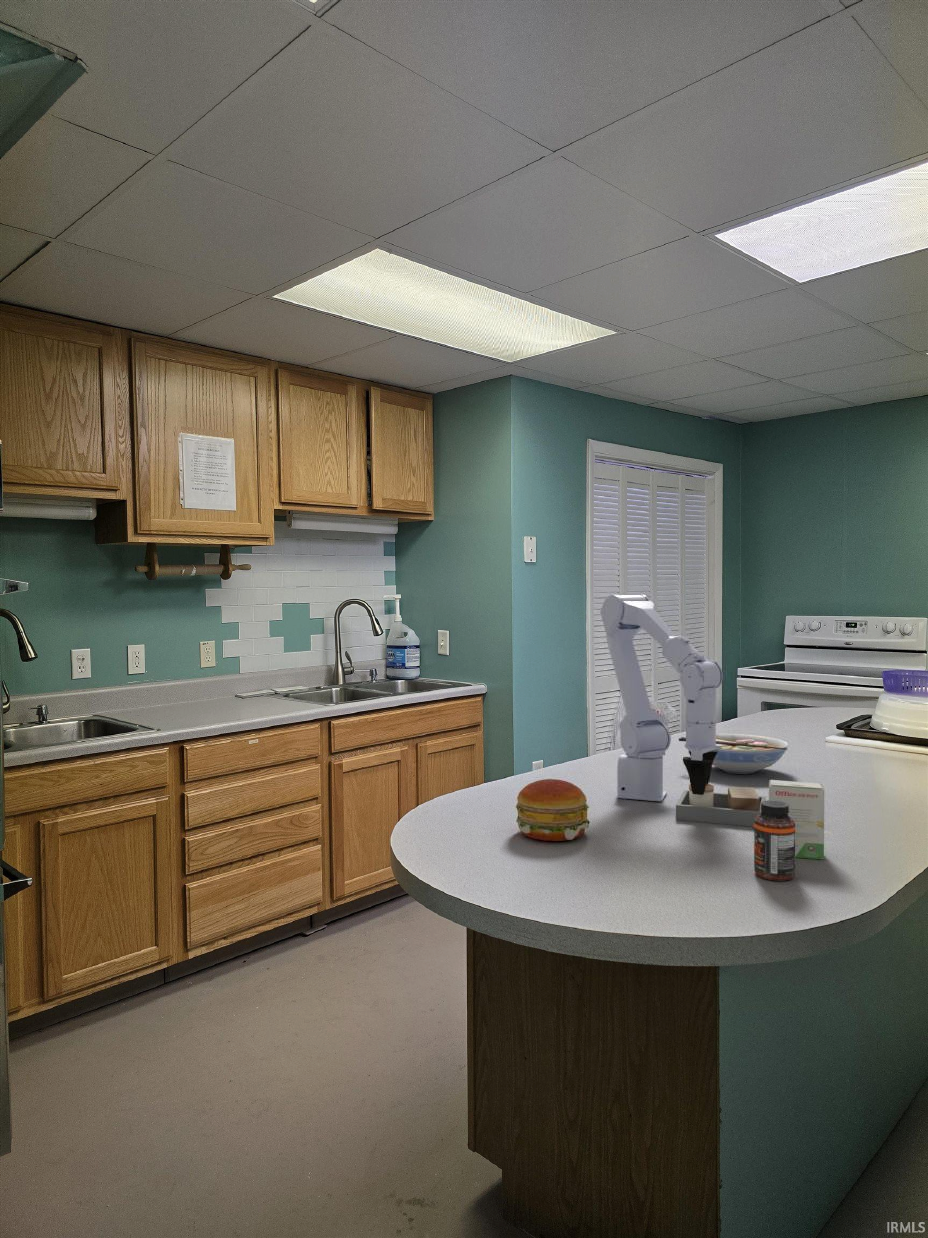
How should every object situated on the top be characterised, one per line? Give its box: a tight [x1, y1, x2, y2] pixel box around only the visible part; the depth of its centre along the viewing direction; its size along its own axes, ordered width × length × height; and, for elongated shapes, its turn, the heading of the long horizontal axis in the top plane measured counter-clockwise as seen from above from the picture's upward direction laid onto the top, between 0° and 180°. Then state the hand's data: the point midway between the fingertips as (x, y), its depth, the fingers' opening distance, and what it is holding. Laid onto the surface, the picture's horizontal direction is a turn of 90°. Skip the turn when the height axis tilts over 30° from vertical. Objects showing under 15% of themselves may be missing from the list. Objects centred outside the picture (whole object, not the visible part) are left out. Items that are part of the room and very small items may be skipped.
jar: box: [688, 783, 715, 807], centre depth 162 cm, size 5×5×6 cm
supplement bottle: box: [753, 799, 796, 882], centre depth 126 cm, size 6×6×11 cm
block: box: [727, 786, 760, 811], centre depth 159 cm, size 5×9×5 cm, turn 167°
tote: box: [675, 789, 767, 828], centre depth 161 cm, size 16×13×3 cm
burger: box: [515, 778, 591, 842], centre depth 149 cm, size 14×14×10 cm
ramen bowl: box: [678, 733, 789, 775], centre depth 201 cm, size 25×23×8 cm
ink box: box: [768, 779, 825, 860], centre depth 137 cm, size 9×5×12 cm, turn 71°
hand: (700, 789), depth 163 cm, fingers open, 7 cm apart
